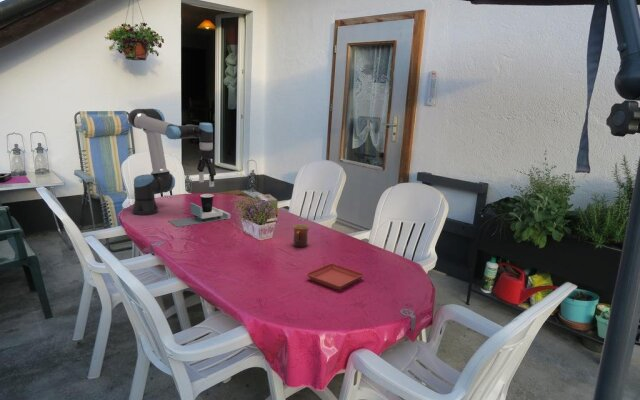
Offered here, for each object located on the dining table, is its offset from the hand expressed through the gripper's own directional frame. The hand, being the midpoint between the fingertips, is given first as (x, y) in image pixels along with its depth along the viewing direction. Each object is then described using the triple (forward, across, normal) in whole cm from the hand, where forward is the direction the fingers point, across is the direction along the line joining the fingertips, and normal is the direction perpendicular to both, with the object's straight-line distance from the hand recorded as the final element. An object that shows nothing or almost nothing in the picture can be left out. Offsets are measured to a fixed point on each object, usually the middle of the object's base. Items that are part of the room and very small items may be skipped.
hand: (206, 184), depth 261 cm
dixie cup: (+18, 0, 0) cm, 18 cm away
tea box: (+21, +22, +29) cm, 42 cm away
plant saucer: (+20, +114, +4) cm, 116 cm away
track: (+22, +1, -5) cm, 22 cm away
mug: (+20, +72, +17) cm, 77 cm away
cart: (+22, +1, 0) cm, 22 cm away
